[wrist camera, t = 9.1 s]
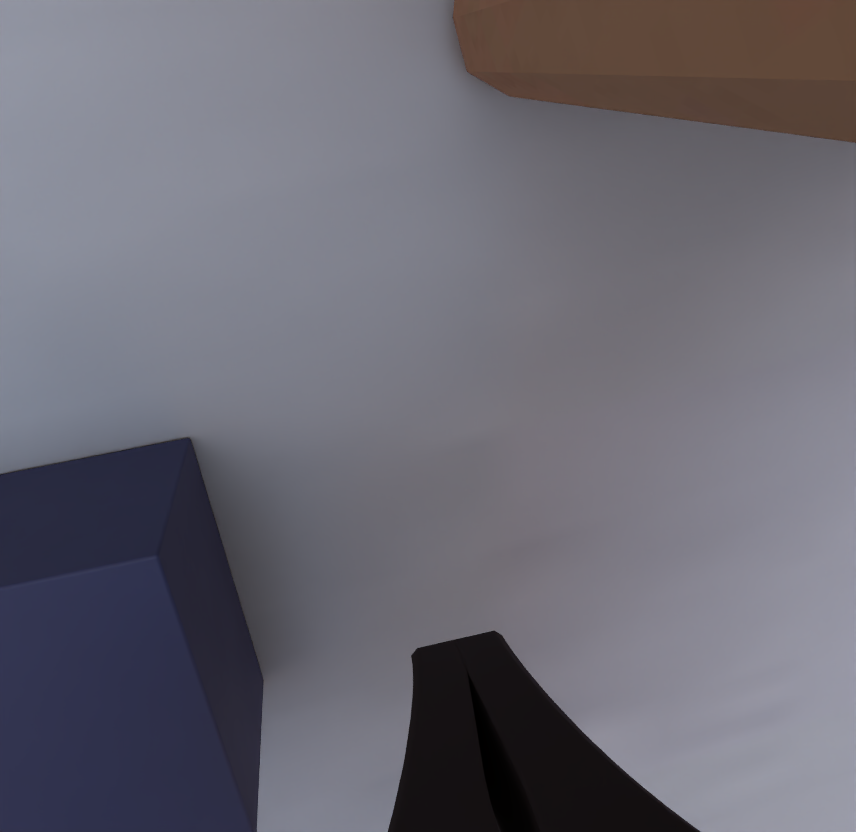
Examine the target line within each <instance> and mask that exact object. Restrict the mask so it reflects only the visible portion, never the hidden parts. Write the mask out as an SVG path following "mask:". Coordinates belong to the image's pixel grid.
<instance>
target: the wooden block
mask: <svg viewBox="0 0 856 832" xmlns="http://www.w3.org/2000/svg"><path fill="white" fill-rule="evenodd" d="M453 20H454V24H455V28H456V32H457V36H458V39H459V43H460V47H461V51H462V55H463V58H464V62H465V66H466V70H467V72H469V73H470V74H472V75H474V76H475V77H477V78H479V79H480V80H482V81H484V82H486V83H487V84H489V85H491V86H492V87H494V88H496V89H497V90H499V91H501V92H503V93H504V94H506V95H508V96H510V97H517V98H525V99H532V100H540V101H547V102H555V103H562V104H570V105H578V106H585V107H593V108H600V109H608V110H615V111H623V112H630V113H638V114H645V115H653V116H660V117H668V118H675V119H683V120H690V121H698V122H705V123H713V124H720V125H728V126H735V127H743V128H750V129H758V130H765V131H773V132H780V133H788V134H795V135H803V136H810V137H818V138H825V139H833V140H840V141H848V142H855V143H856V0H454V11H453Z"/></svg>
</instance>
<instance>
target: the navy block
mask: <svg viewBox="0 0 856 832" xmlns="http://www.w3.org/2000/svg"><path fill="white" fill-rule="evenodd" d="M262 701H263V677H262V674H261V671H260V668H259V664H258V661H257V658H256V654H255V651H254V648H253V644H252V641H251V638H250V634H249V631H248V628H247V625H246V621H245V618H244V615H243V611H242V608H241V605H240V601H239V598H238V595H237V591H236V588H235V585H234V582H233V578H232V575H231V572H230V568H229V565H228V562H227V558H226V555H225V552H224V548H223V545H222V542H221V539H220V535H219V532H218V529H217V525H216V522H215V519H214V515H213V512H212V509H211V505H210V502H209V499H208V496H207V492H206V489H205V486H204V482H203V479H202V476H201V472H200V469H199V466H198V462H197V459H196V456H195V453H194V449H193V446H192V443H191V440H190V439H189V438H185V439H180V440H175V441H170V442H165V443H160V444H155V445H150V446H145V447H140V448H135V449H129V450H124V451H119V452H114V453H109V454H104V455H99V456H94V457H89V458H84V459H79V460H73V461H68V462H63V463H58V464H53V465H48V466H43V467H38V468H33V469H28V470H23V471H17V472H12V473H7V474H2V475H0V832H257V810H258V788H259V766H260V744H261V722H262Z"/></svg>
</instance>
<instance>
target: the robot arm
mask: <svg viewBox="0 0 856 832" xmlns="http://www.w3.org/2000/svg"><path fill="white" fill-rule="evenodd" d="M411 657H412V664H413V699H412V710H411V720H410V727H409V734H408V740H407V747H406V754H405V760H404V765H403V770H402V774H401V779H400V783H399V788H398V792H397V797H396V801H395V806H394V810H393V814H392V818H391V822H390V825H389V829H388V832H700V831H699V830H697V829H696V828H695V827H693V826H692V825H691V824H689V823H688V822H687V821H685V820H684V819H683V818H681V817H680V816H679V815H677V814H676V813H675V812H673V811H672V810H671V809H669V808H668V807H667V806H666V805H664V804H663V803H662V802H661V801H659V800H658V799H657V798H656V797H654V796H653V795H652V794H651V793H650V792H648V791H647V790H646V789H645V788H643V787H642V786H641V785H640V784H639V783H637V782H636V781H635V780H634V779H633V778H632V777H630V776H629V775H628V774H627V773H626V772H625V771H624V770H623V769H621V768H620V767H619V766H618V765H617V764H616V763H615V762H614V761H613V760H611V759H610V758H609V757H608V756H607V755H606V754H605V753H604V752H603V751H602V750H601V749H600V748H599V747H598V746H597V745H596V744H594V743H593V742H592V741H591V740H590V739H589V738H588V737H587V736H586V735H585V734H584V733H583V732H582V731H581V730H580V729H579V728H578V727H577V726H576V725H575V724H574V722H573V721H572V720H571V719H570V718H569V717H568V716H567V715H566V714H565V713H564V712H563V711H562V710H561V709H560V708H559V706H558V705H557V704H556V703H555V702H554V701H553V700H552V699H551V698H550V697H549V696H548V694H547V693H546V692H545V691H544V690H543V689H542V688H541V686H540V685H539V684H538V683H537V682H536V680H535V679H534V678H533V677H532V676H531V674H530V673H529V672H528V671H527V670H526V668H525V667H524V666H523V664H522V663H521V662H520V661H519V659H518V658H517V657H516V655H515V654H514V653H513V651H512V650H511V648H510V647H509V645H508V644H507V643H506V641H505V639H504V638H503V636H502V635H501V634H499V633H497V632H496V631H491V632H486V633H482V634H477V635H473V636H469V637H464V638H460V639H455V640H451V641H447V642H442V643H438V644H434V645H429V646H425V647H420V648H417V649H416V651H415V652H414V653H413V654H412V655H411Z"/></svg>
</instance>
